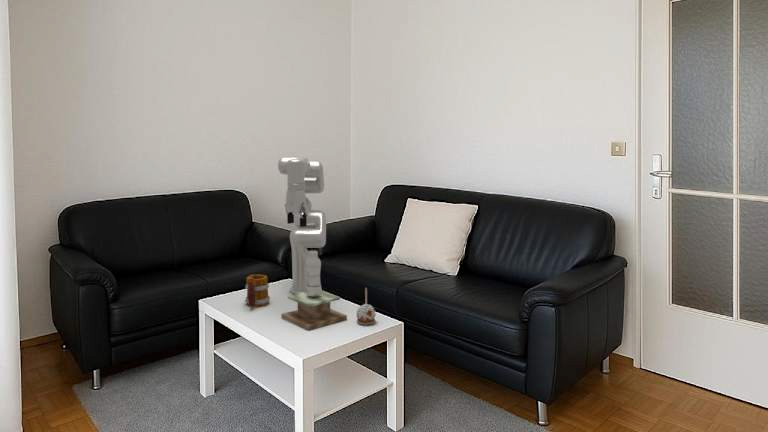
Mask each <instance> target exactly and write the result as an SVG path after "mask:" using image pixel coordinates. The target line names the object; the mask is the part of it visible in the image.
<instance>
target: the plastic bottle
mask: <svg viewBox="0 0 768 432" xmlns="http://www.w3.org/2000/svg"><path fill="white" fill-rule="evenodd" d="M308 251H309V257H308V259H307V260H306V270H307V287H306V293H307V295H308V296H309V297H319V296H320V295H321V293H322V291H323V289H322V284H321V268H322V261H321V259H320V258H319V253H318V250H317V249H310V250H308Z"/></svg>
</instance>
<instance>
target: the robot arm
mask: <svg viewBox="0 0 768 432" xmlns="http://www.w3.org/2000/svg"><path fill="white" fill-rule="evenodd" d="M277 169H278V172H279V173H280V174H281V175H284V176H286V175H287V176H286V177H287V178H286V180H287V189H286V195H285V204H284V208H285V212H286V215H287V216H286V217H287V219H286V222H287V224H288V225H289V224H293V225H294V227H295V228H294V229H292V230H291V231H290V233H289V242H290V246H291V247H290V248H291V262H292V263H291V265H292V267H291V268H292V287H290V288H289V292H290V293H291V294H292V295H295V294H299V293H303V292H306V287H307V270H306V260H307V259H308V257H309V250H308V249H309V248H310V249H313V248H314V249H315V248H316V249H318V248H319V249H320V248H324V247H325V245H326V243H327V216H326V213H325V212H324V211H323V210H321V209H312V206H313V205H312V202H311V200H310V199H309V198H308V196H306V194H321V193H322V192H324V190H325V179H324V176H325V175H324V167H323V163H322V162H321V161H320V160H316V159H315V160H311V159H310V160H309V159H308V158H307V157H305V156H282V157H279V159H278V163H277Z"/></svg>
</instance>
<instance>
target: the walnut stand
mask: <svg viewBox="0 0 768 432" xmlns="http://www.w3.org/2000/svg"><path fill="white" fill-rule="evenodd" d="M287 299H289V300H291V301H292V302H295V303H296V304H297V309H296V310H292V311H288V312H284V313H281V319H282V320H284V321H286V322H288V323H291V324H292V325H294V326H297V327H300V328H302V329H305V330H306V331H312V330H315V329H319V328H322V327H326V326H330V325H334V324H337V323H340V322H343V321H347V320H348V315H347V314H344V313H342V312H340V311H336V310H334V309H331V302H336V301H340V300H341V297H340V296H338V295H335V294H332V293H330V292H328V291H325V290H322V293H321V295H320V296H319V297H309V296H308V295H307V293H306V292H303V293H299V294H291V295H288V296H287Z"/></svg>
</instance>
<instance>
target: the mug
mask: <svg viewBox="0 0 768 432" xmlns="http://www.w3.org/2000/svg"><path fill="white" fill-rule="evenodd" d="M245 278H246V284H245V287H244V288H245V289H246V292H247V293H246V297H245V300H244V302H245V303H246V306H247V307H250V309H254V308H260V307H266V306H268V305H270V298H271V297H270V295H269V287H270V283H269V282H268V280H269V279H268V276H267V275H266V274H265V275H264V274H251V275H248V276H247V277H245Z"/></svg>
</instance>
